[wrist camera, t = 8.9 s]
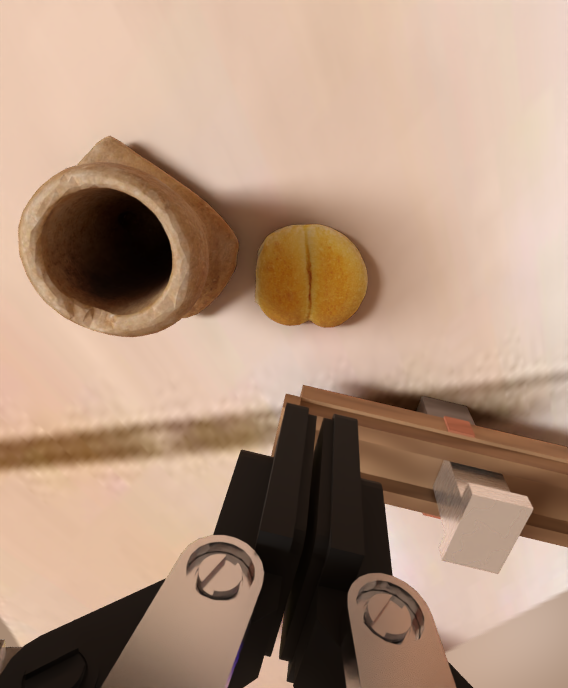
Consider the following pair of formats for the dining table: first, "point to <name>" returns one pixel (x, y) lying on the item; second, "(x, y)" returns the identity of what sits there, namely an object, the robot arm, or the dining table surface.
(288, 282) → the bread roll
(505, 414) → the dining table surface
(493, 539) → the rider
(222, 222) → the stone cup
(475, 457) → the beam
